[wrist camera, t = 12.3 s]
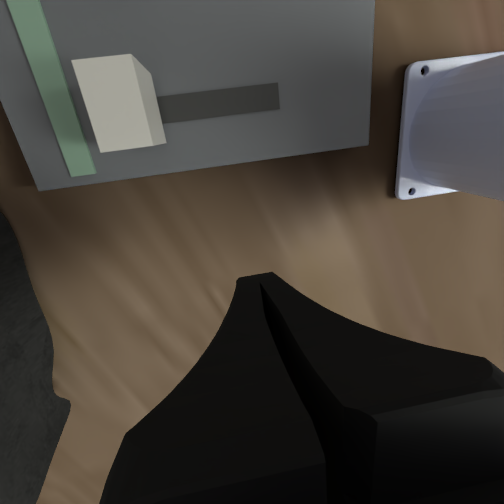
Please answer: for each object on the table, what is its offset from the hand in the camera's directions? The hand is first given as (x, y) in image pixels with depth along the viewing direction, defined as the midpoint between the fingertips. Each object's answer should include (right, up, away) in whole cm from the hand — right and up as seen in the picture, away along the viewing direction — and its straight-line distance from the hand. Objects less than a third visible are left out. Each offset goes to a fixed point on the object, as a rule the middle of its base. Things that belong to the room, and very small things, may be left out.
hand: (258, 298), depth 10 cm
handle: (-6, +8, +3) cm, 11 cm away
